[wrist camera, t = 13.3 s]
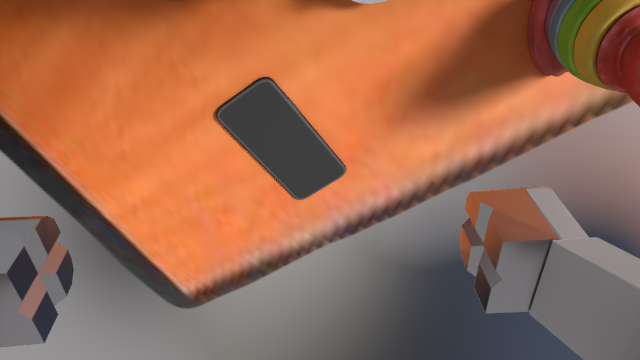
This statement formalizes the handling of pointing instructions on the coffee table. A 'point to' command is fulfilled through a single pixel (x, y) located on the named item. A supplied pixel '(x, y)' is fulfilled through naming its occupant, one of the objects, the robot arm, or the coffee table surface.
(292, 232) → the coffee table surface
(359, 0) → the wall hook
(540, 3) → the stacking bear
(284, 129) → the smartphone
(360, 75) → the coffee table surface
